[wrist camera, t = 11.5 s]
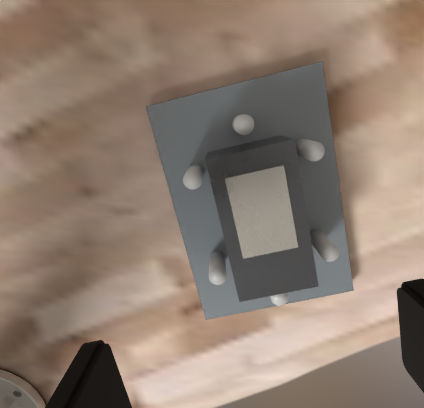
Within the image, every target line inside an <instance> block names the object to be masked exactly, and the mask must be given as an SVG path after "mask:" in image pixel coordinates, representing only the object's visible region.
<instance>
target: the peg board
mask: <svg viewBox="0 0 424 408" xmlns="http://www.w3.org/2000/svg"><path fill="white" fill-rule="evenodd" d="M146 108H147V112H148V115H149V119H150V123H151V126H152V130H153V133H154V137H155V140H156V144H157V147H158V151H159V155H160V158H161V162H162V165H163V169H164V172H165V176H166V180H167V183H168V187H169V190H170V194H171V197H172V201H173V204H174V208H175V212H176V215H177V219H178V222H179V226H180V229H181V233H182V236H183V240H184V244H185V247H186V251H187V254H188V258H189V261H190V265H191V269H192V272H193V276H194V279H195V283H196V286H197V290H198V293H199V297H200V301H201V304H202V308H203V311H204V315H205V318H206V320H208V319H213V318H218V317H223V316H228V315H233V314H238V313H243V312H248V311H253V310H258V309H263V308H268V307H273V306H281V305H284V304H288V303H293V302H298V301H303V300H309V299H314V298H319V297H324V296H329V295H334V294H339V293H344V292H349V291H354V290H353V282H352V275H351V268H350V260H349V253H348V246H347V238H346V231H345V224H344V216H343V209H342V201H341V194H340V187H339V179H338V172H337V165H336V157H335V150H334V143H333V135H332V128H331V121H330V113H329V106H328V99H327V91H326V84H325V76H324V69H323V62H318V63H314V64H310V65H307V66H303V67H299V68H295V69H291V70H287V71H283V72H279V73H275V74H271V75H267V76H263V77H260V78H256V79H252V80H248V81H244V82H240V83H236V84H232V85H228V86H224V87H220V88H216V89H213V90H209V91H205V92H201V93H197V94H193V95H189V96H185V97H181V98H177V99H173V100H169V101H165V102H162V103H158V104H154V105H150V106H146ZM279 135H281V136H285V137H288V138H292V139H295V144H296V151H297V157H298V163H299V169H300V175H301V181H302V187H303V193H304V199H305V206H306V212H307V218H308V224H309V230H310V236H311V242H312V248H313V254H314V261H315V267H316V273H317V279H318V285H319V287H313V288H308V289H303V290H298V291H293V292H288V293H283V294H278V295H273V296H268V297H263V298H258V299H253V300H248V301H243V302H239V298H238V294H237V290H236V286H235V282H234V278H233V273H232V269H231V265H230V261H229V257H228V253H227V248H226V244H225V240H224V236H223V232H222V228H221V223H220V219H219V215H218V211H217V207H216V203H215V199H214V194H213V190H212V186H211V182H210V178H209V174H208V169H207V165H206V161H205V159H206V156H207V152H211V151H215V150H219V149H224V148H228V147H232V146H236V145H241V144H245V143H249V142H253V141H257V140H262V139H266V138H270V137H274V136H279Z"/></svg>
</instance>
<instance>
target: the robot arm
mask: <svg viewBox="0 0 424 408" xmlns="http://www.w3.org/2000/svg"><path fill="white" fill-rule="evenodd" d="M397 299H398V312H399V324H400V336H401V348H402V359H403V363H404V366H405V368H406V370H407V372H408V373H409V374H410V376H411V377H412V378H413V380H414V381H415V382H416V383H417V385H418V386H419V387H420V388H421V390H422V391H423V392H424V279H417V280H412V281H407V282H403V283H402V285H401V288H398V289H397ZM0 408H132V406H131V403H130V401H129V398H128V395H127V392H126V389H125V387H124V384H123V381H122V378H121V375H120V373H119V370H118V367H117V364H116V361H115V359H114V356H113V353H112V350H111V347H110V345H109V344H105V343H104V342H103V341H102V340H99V341H93V342H88V343H84V344H83V345H82V346H81V348H80V349H79V351H78V353H77V355H76V356H75V358H74V360H73V361H72V363H71V365H70V366H69V368H68V370H67V371H66V373H65V375H64V377H63V378H62V380H61V382H60V383H59V385H58V387H57V388H56V390H55V392H54V394H53V395H52V397H51V399H50V400H49V402H48V404H47V405H45V403H44V401H43V399H42V398H41V396H40V395H39V393H38V392H37V391H36V390H35V389H34V388H33V387H32V386H31V385H30V384H29V383H27V382H26V381H24V380H23V379H21V378H20V377H18V376H16V375H14V374H12V373H10V372H7V371H4V370H1V369H0Z"/></svg>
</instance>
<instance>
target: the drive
mask: <svg viewBox="0 0 424 408" xmlns="http://www.w3.org/2000/svg"><path fill="white" fill-rule="evenodd" d="M205 161H206V165H207V169H208V174H209V178H210V182H211V186H212V190H213V194H214V199H215V203H216V207H217V211H218V215H219V219H220V223H221V228H222V232H223V236H224V240H225V244H226V248H227V253H228V257H229V261H230V265H231V269H232V273H233V278H234V282H235V286H236V290H237V294H238V298H239V302H243V301H248V300H253V299H258V298H263V297H268V296H273V295H278V294H283V293H288V292H293V291H298V290H303V289H308V288H313V287H319V285H318V279H317V273H316V267H315V261H314V254H313V248H312V242H311V236H310V230H309V224H308V218H307V212H306V206H305V199H304V193H303V187H302V181H301V175H300V169H299V163H298V157H297V151H296V144H295V139H292V138H288V137H285V136H281V135H279V136H274V137H270V138H266V139H262V140H257V141H253V142H249V143H245V144H241V145H236V146H232V147H228V148H224V149H219V150H215V151H211V152H207V156H206V159H205Z"/></svg>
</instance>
